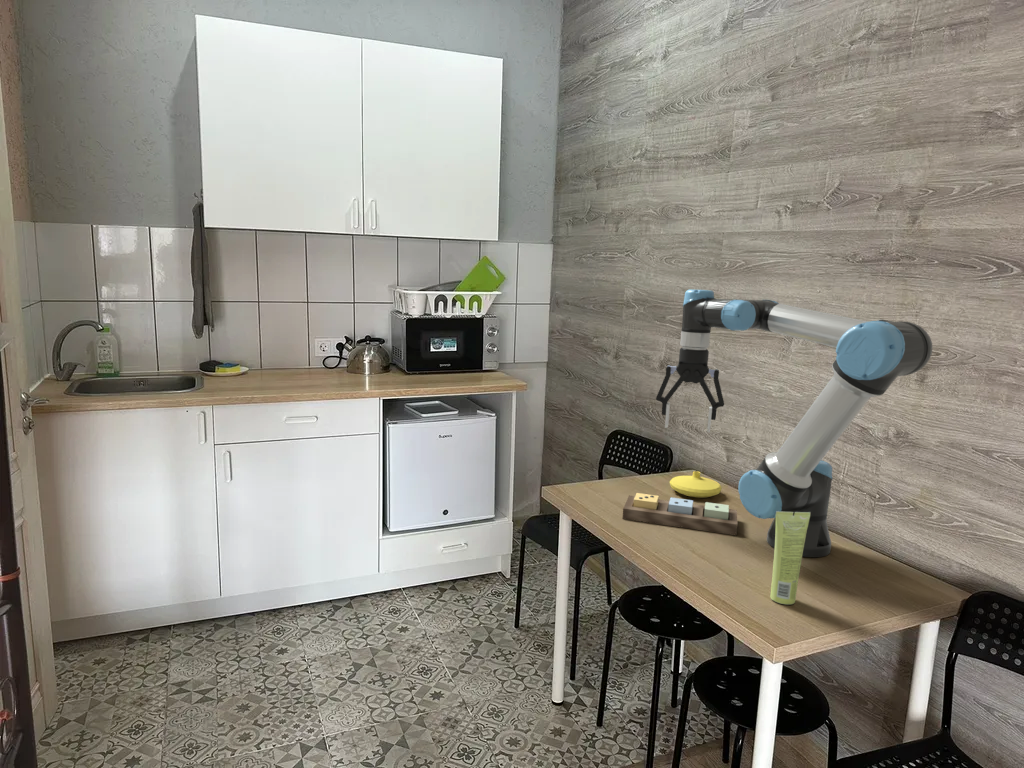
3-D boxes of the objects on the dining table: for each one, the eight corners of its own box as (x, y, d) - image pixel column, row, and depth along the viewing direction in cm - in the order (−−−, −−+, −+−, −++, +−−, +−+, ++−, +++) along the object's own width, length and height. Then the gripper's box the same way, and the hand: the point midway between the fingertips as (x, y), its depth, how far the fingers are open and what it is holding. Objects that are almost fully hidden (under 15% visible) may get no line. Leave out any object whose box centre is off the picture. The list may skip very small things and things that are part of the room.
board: (735, 520, 192) (736, 510, 192) (736, 535, 181) (737, 524, 180) (628, 505, 201) (629, 495, 200) (622, 518, 189) (623, 508, 189)
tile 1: (727, 515, 190) (728, 504, 189) (727, 523, 184) (728, 511, 183) (704, 512, 191) (705, 501, 191) (703, 519, 186) (704, 508, 185)
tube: (776, 591, 149) (786, 505, 146) (800, 599, 146) (810, 511, 142) (765, 599, 145) (775, 511, 142) (789, 608, 141) (800, 518, 138)
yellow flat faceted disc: (702, 505, 203) (704, 483, 202) (658, 491, 215) (660, 470, 214) (730, 495, 214) (732, 474, 213) (687, 483, 225) (689, 462, 224)
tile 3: (657, 505, 195) (658, 495, 194) (655, 512, 189) (656, 501, 189) (635, 502, 197) (636, 492, 196) (633, 509, 191) (633, 498, 190)
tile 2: (692, 510, 192) (693, 499, 192) (691, 517, 186) (692, 506, 186) (669, 507, 194) (670, 496, 194) (667, 514, 188) (668, 503, 188)
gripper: (739, 349, 183) (731, 430, 187) (652, 343, 189) (646, 421, 193) (739, 352, 176) (731, 436, 180) (649, 346, 182) (643, 427, 186)
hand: (687, 429), depth 186 cm, fingers open, 10 cm apart
